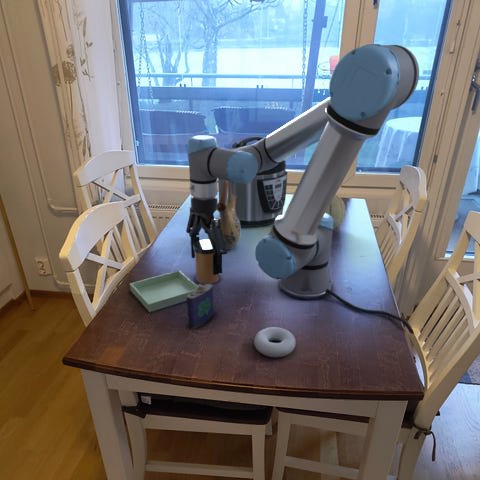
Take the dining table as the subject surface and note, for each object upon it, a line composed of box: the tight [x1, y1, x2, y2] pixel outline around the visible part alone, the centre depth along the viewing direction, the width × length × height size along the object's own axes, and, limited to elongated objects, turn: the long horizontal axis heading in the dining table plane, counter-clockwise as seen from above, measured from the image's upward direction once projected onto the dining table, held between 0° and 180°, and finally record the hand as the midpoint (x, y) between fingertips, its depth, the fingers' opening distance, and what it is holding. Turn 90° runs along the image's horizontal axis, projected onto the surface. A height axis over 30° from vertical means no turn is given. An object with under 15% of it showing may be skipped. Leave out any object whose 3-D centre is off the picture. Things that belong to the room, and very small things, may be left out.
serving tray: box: [129, 269, 199, 313], centre depth 124 cm, size 14×16×2 cm
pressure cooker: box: [217, 135, 288, 227], centre depth 170 cm, size 30×28×32 cm
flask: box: [186, 283, 215, 329], centre depth 109 cm, size 9×3×11 cm, turn 144°
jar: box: [193, 239, 220, 285], centre depth 129 cm, size 8×8×12 cm
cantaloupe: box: [326, 194, 347, 231], centre depth 163 cm, size 15×15×15 cm
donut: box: [253, 326, 296, 358], centre depth 101 cm, size 10×4×10 cm
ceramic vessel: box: [216, 180, 242, 251], centre depth 146 cm, size 16×9×25 cm, turn 166°
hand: (206, 264), depth 130 cm, fingers open, 13 cm apart
